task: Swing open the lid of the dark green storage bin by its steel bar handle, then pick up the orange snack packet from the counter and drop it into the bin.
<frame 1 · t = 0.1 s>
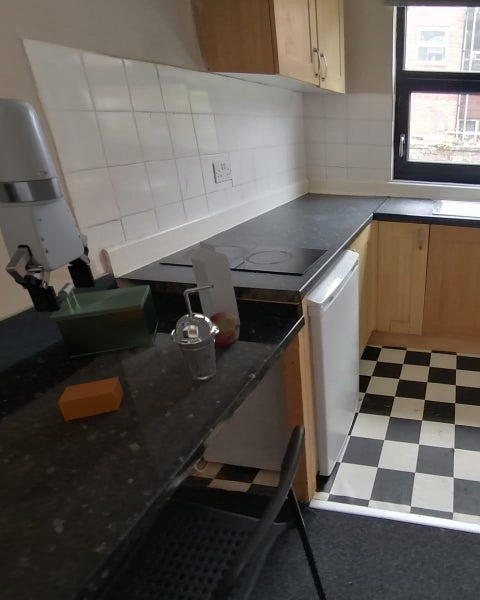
hand: (68, 298, 66), 21 cm above the counter, tool pointing down, fingers open, 9 cm apart
cup with straw: (206, 375, 83), on the counter
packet: (96, 407, 74), on the counter
milk: (223, 327, 103), on the counter
bin lid: (101, 292, 91), point 12 cm above the counter, hinge at 0.0°
dark green storage bin: (119, 340, 96), on the counter
fruit: (225, 346, 94), on the counter
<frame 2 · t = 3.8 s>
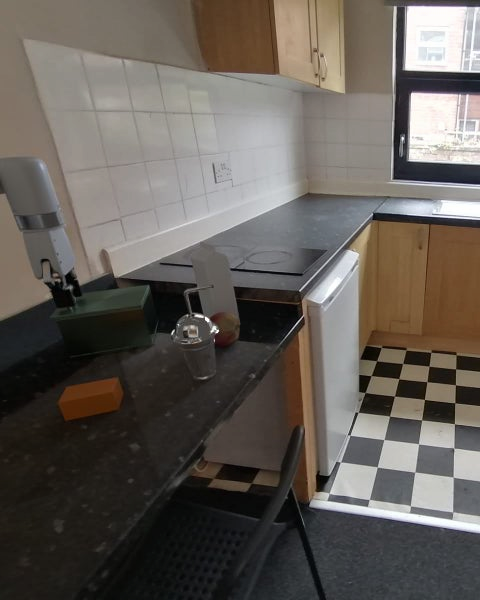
hand: (70, 301, 89), 11 cm above the counter, tool pointing down, fingers closed on bin lid, 5 cm apart
bin lid: (101, 292, 91), point 12 cm above the counter, hinge at 0.0°, touching gripper
everything else where it was.
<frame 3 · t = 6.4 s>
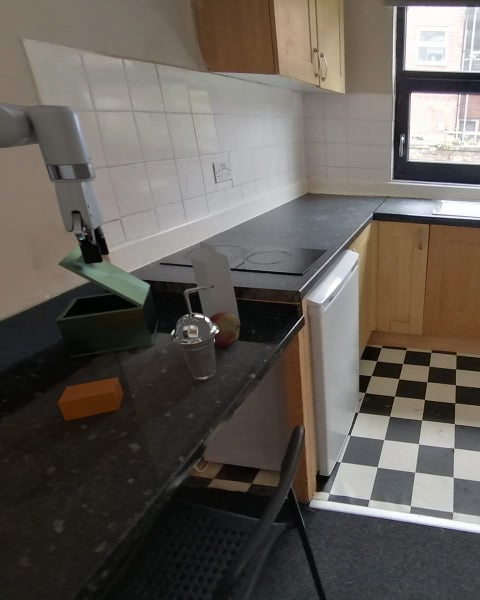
hand: (97, 258, 88), 21 cm above the counter, tool pointing down, fingers closed on bin lid, 5 cm apart
bin lid: (114, 268, 90), point 18 cm above the counter, hinge at 44.7°, touching gripper
everything else where it was.
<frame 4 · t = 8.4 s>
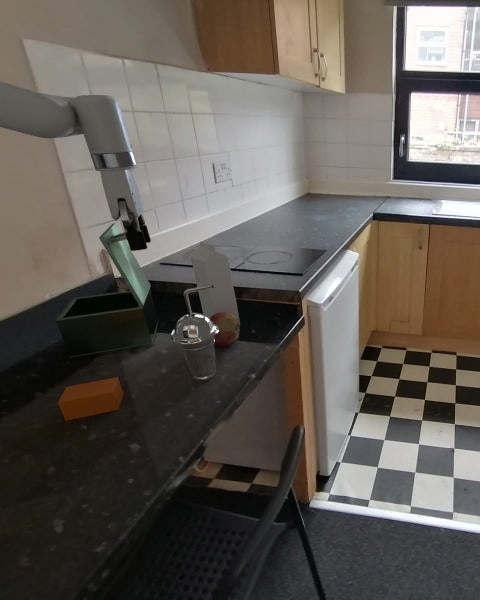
hand: (141, 245, 91), 22 cm above the counter, tool pointing down, fingers closed on bin lid, 5 cm apart
bin lid: (137, 261, 92), point 19 cm above the counter, hinge at 77.5°, touching gripper
everything else where it was.
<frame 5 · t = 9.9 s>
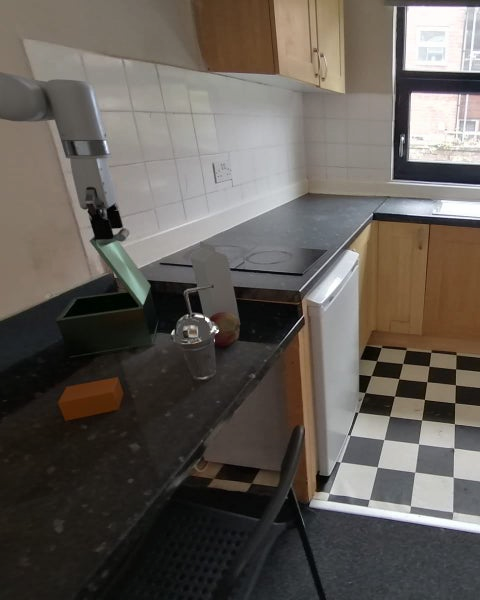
hand: (110, 233, 88), 26 cm above the counter, tool pointing down
bin lid: (132, 261, 91), point 19 cm above the counter, hinge at 71.2°, touching gripper
everything else where it was.
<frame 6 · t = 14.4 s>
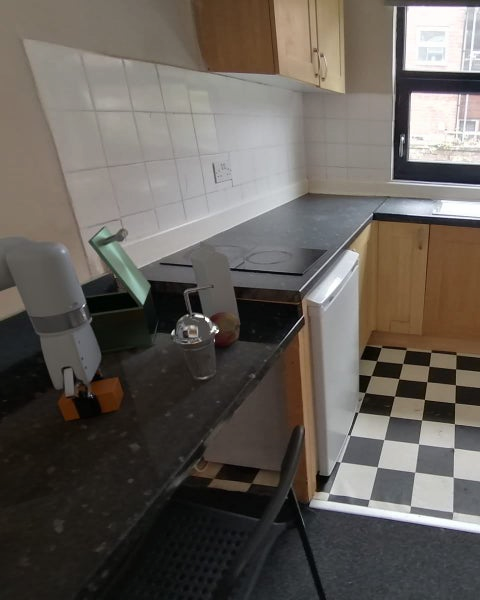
hand: (95, 405, 74), 0 cm above the counter, tool pointing down, fingers closed on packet, 5 cm apart
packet: (96, 407, 74), on the counter, touching gripper
bin lid: (131, 261, 91), point 19 cm above the counter, hinge at 70.3°
everything else where it was.
when the fingers open (8 cm above the counter, at t = 21.6 s): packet drops 7 cm, resting on dark green storage bin.
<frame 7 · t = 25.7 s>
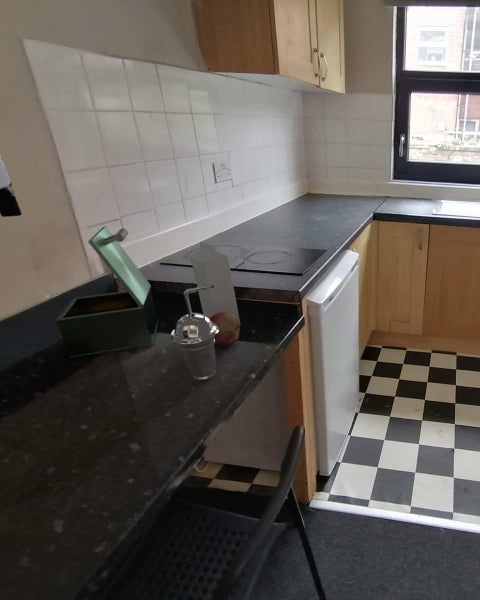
hand: (1, 221, 78), 30 cm above the counter, tool pointing down, fingers open, 9 cm apart
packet: (103, 339, 95), point 1 cm above the counter, touching dark green storage bin
everything else where it was.
at the end: bin lid at +70° (first picture: +0°); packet inside the target area in the dark green storage bin (3.0 cm from its centre), point 0.9 cm above the dark green storage bin's base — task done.
